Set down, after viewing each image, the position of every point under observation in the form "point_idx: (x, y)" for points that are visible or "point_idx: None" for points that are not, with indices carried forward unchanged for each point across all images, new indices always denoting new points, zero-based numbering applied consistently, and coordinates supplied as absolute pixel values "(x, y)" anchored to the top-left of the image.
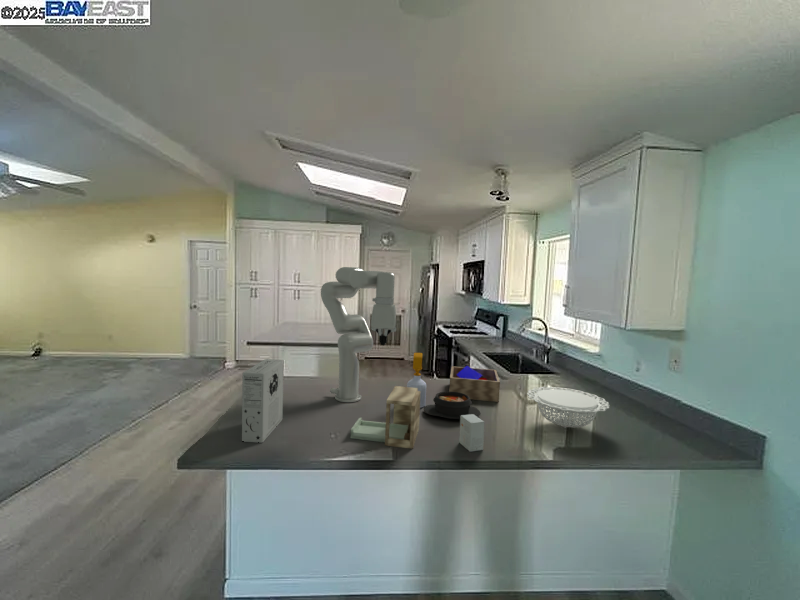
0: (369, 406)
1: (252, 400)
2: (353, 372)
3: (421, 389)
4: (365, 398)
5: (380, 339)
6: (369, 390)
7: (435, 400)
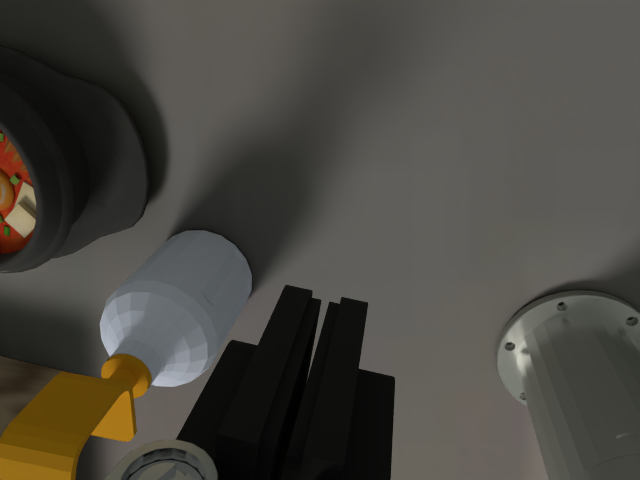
0: (450, 242)
1: None
2: (602, 435)
3: (131, 278)
4: (471, 353)
5: (365, 419)
6: (448, 457)
7: (51, 156)
